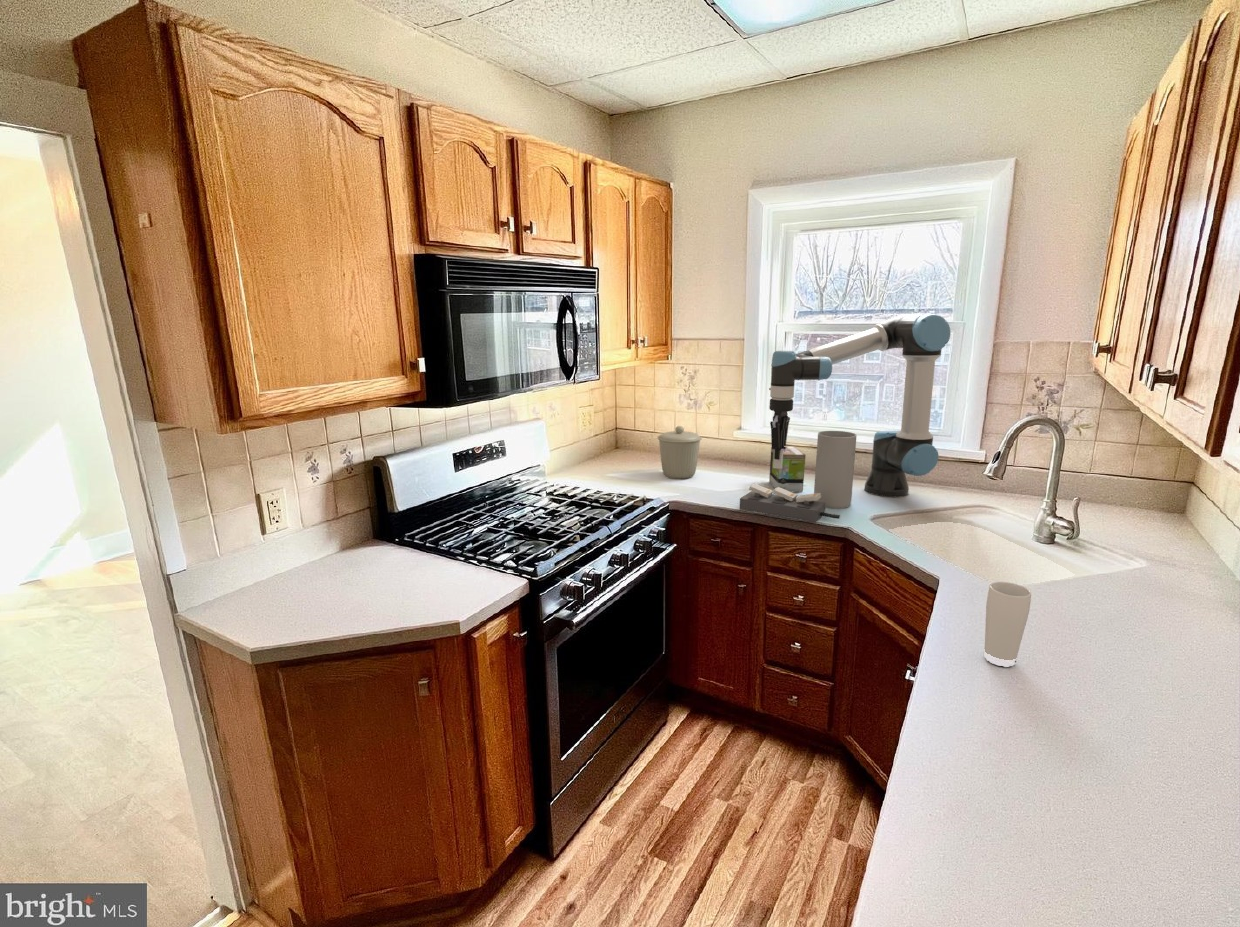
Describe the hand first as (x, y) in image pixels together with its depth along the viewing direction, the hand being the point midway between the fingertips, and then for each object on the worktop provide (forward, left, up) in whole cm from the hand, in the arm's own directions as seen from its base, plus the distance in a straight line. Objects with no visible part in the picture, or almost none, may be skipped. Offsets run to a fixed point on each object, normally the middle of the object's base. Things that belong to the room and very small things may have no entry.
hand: (777, 467), depth 206 cm
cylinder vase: (-15, -16, -15) cm, 26 cm away
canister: (+49, -22, -15) cm, 56 cm away
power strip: (-6, +2, -15) cm, 16 cm away
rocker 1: (+6, 0, -10) cm, 11 cm away
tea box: (+6, -29, -15) cm, 33 cm away
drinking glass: (-69, +69, -15) cm, 98 cm away
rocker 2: (-3, 0, -10) cm, 10 cm away
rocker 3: (-11, 0, -10) cm, 15 cm away
